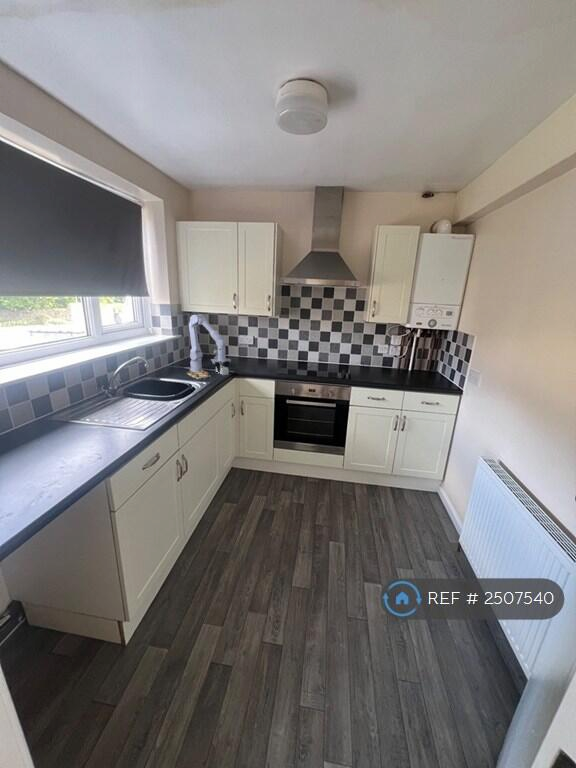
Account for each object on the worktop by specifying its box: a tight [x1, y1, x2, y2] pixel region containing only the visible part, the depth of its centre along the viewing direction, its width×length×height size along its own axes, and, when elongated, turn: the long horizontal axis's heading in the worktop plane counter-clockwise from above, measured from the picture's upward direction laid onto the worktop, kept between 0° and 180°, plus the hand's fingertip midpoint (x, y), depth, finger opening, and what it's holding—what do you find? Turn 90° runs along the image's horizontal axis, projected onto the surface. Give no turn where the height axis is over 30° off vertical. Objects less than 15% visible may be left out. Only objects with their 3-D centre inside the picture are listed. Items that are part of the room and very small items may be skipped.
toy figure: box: [210, 349, 228, 366], centre depth 255 cm, size 17×10×15 cm, turn 62°
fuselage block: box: [215, 365, 229, 376], centre depth 234 cm, size 11×5×5 cm, turn 40°
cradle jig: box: [186, 369, 212, 380], centre depth 225 cm, size 18×11×3 cm, turn 40°
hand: (222, 371), depth 235 cm, fingers closed on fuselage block, 5 cm apart
